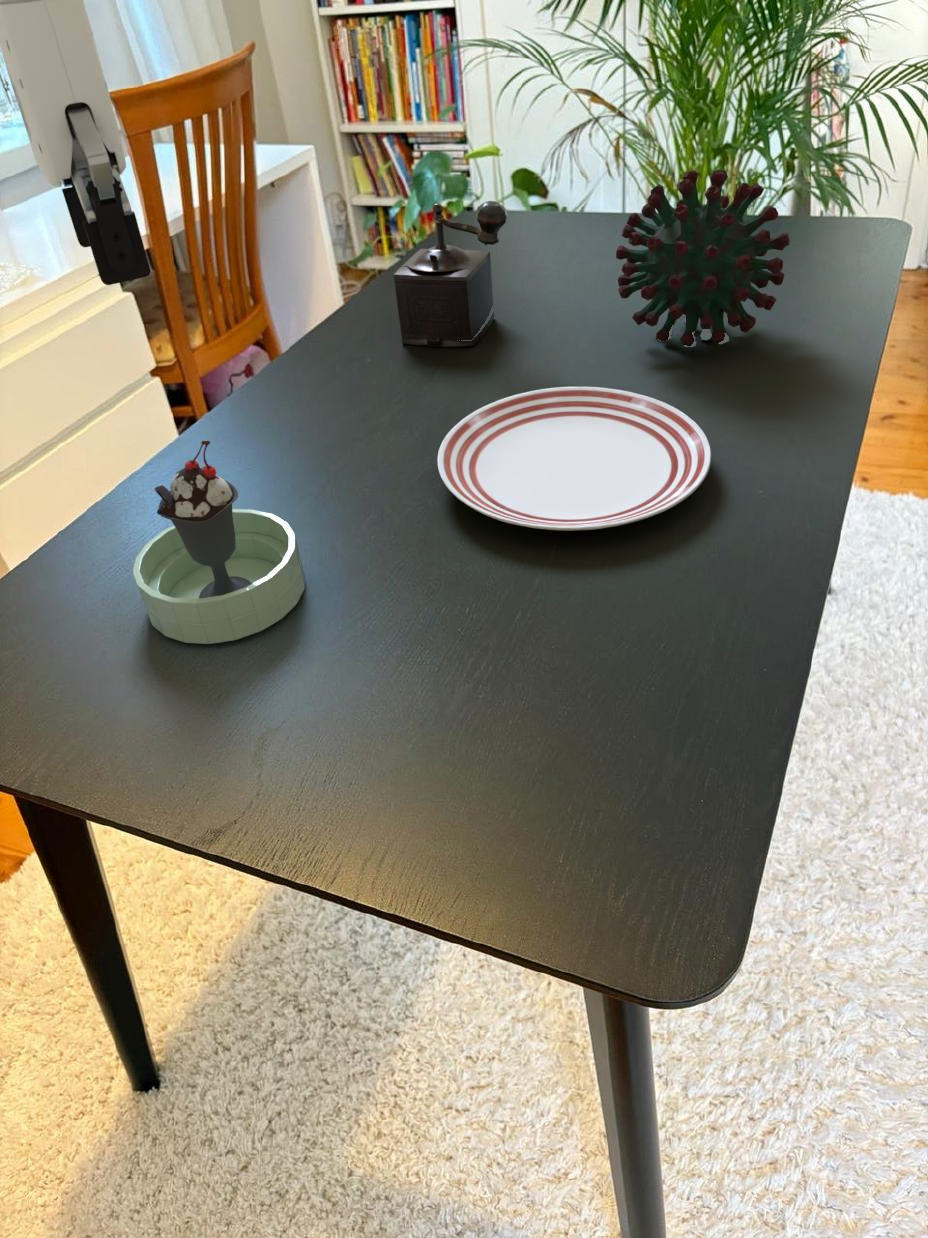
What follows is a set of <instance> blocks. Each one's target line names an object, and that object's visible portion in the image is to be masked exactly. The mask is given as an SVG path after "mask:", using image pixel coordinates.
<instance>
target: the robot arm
mask: <svg viewBox="0 0 928 1238" xmlns="http://www.w3.org/2000/svg"><path fill="white" fill-rule="evenodd" d="M0 52H1V56H2V59H3V61H4V64H5V68H6V72H7V74H8V77H9V81H10V84H11V87H12V90H13V93H14V96H15V99H16V103H17V105H18V109H19V112H20V116H21V118H22V121H23V125H24V127H25V131H26V134H27V137H28V141H29V144H30V147H31V151H32V154H33V158H34V160H35V164H36V165H37V167H38V168H39V170H40V172H41V173H42V175H43V177H44V178H45V180H46V181H47V183H48V184H50V185H52V186H54V187H55V188H61V192H62V195H63V198H64V201H65V204H66V207H67V210H68V213H69V217H70V219H71V223H72V226H73V230H74V232H75V236H76V239H77V242H78V244H79V245H80V247H82V248H89V247H90V249H91V252H92V257H93V260H94V262H95V263H94V264H95V266H96V269H97V272H98V275H99V279H100V280H101V282H102V284H104V285H106V286H112V285H116V284H121V283H124V282H129V281H134V280H138V279H142V278H143V279H144V278H147V277H149V276H150V274H151V272H152V271H151V267H150V264H149V259H148V256H147V253H146V249H145V245H144V242H143V238H142V235H141V231H140V228H139V223H138V220H137V216H136V213H135V212H134V210H132V206H131V203H130V201H129V198H128V194H127V191H126V189H125V186H124V184H123V182H122V178H121V175H122V174H123V173H124V171H125V170H126V168H127V163H126V157H125V152H124V147H123V143H122V139H121V135H120V130H119V127H118V123H117V119H116V114H115V111H114V107H113V103H112V99H111V95H110V92H109V87H108V84H107V79H106V76H105V73H104V70H103V66H102V62H101V59H100V55H99V50H98V47H97V44H96V41H95V37H94V33H93V30H92V27H91V23H90V19H89V16H88V12H87V9H86V6H85V2H84V0H0ZM62 186H63V188H62Z"/></svg>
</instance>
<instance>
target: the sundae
mask: <svg viewBox="0 0 928 1238" xmlns="http://www.w3.org/2000/svg"><path fill="white" fill-rule="evenodd" d="M200 443H201V444H200V448H199V450H198V452H197V453H196V455H195V456H194V458H193V459H189V460H188V461H186V462H185V464H184V468H182V469H180V470H178V471H176V474H174V476H173V478H172V480H171V482H170V489H168V488H167V487H166V486H164V484H161V485H157V486H155V488H154V491H155V492H156V494H157V495H158V496H159V497H160V498H161V499H160V502H159V504H158V508H157V511H156V513H157V515H159V516H160V517H162V518H164V519H167V520H170V521H171V522H172V524H173V525H174V526H175V527H176V529H177V531H178V533H179V535H180V537H181V539H182V541H183V543H184V545H185V548H186V549H187V551H188V553H189V554H190V556H191V557H192V559H193V560H194V561H196V562H198V563H200V564H202V565H205V566H210V567H211V568H212V572H213V575H214V581H213V582H211V583H209V584H208V585H207V586H206V587H205V588H204V589H203V590H202V591H201V593H200V595H199V599H201V598H208V597H214V596H221V595H225V594H228V593H231V592H234V591H237V590H240V589H243V588H246V587H247V586H249V585H251V584H252V583H251V582H250V581H249V580H247V579H245V578H241V577H237V576H230V577H229V575H228V573H227V571H226V567H225V562H226V561H227V560H228V559H229V558H230V557H231V555H232V554H233V552H234V550H235V548H236V543H235V530H234V523H233V516H232V509H233V503H234V502H235V501H236V500H237V499H238V498H239V492H238V490H237V488H236V486H234V485H233V484H232V483H231V482H230V481H227V480H224V477H223V476H219V475H217V470H216V467H215V466H213V465H209V464H208V462H207V460H206V450H207V448H208V446H209V445H210V444H211V441H210V440H202V441H201V442H200ZM203 446H204V449H203V455H202V457H203V463H204V466H203V467H200V463H199V462H198V461H196V460H197V458H198V457H199V455H200V453H201V451H202V448H203Z"/></svg>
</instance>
